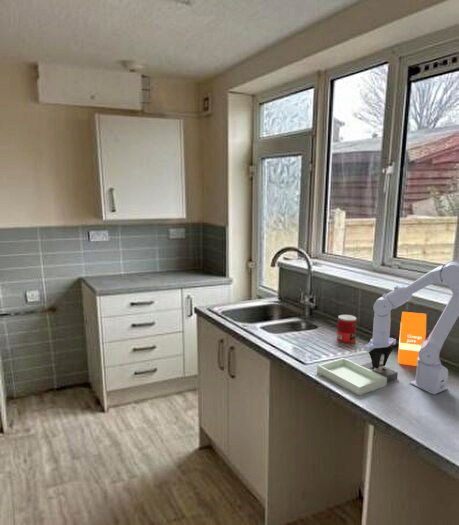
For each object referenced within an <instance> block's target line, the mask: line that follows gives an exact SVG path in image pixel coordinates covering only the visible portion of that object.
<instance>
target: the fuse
mask: <svg viewBox="0 0 459 525" xmlns="http://www.w3.org/2000/svg"><path fill="white" fill-rule="evenodd" d="M383 361H384V354H382V355H381V358H380V363H379V368H375V369H374V370H375V371H377V372H379V373H380V372H383Z"/></svg>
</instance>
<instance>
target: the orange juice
mask: <svg viewBox="0 0 459 525" xmlns="http://www.w3.org/2000/svg"><path fill="white" fill-rule="evenodd" d="M399 326H400V327H399V328H400V329H399V340H398V351H397V361H398V364H400V365H406V366H407V365H408V366H415V367H417V358H418V357H419V356H418V353H419V351H420V348H421V343H422V342H423V341H424V340H426V338H427V337H426V336H427V313H421V312H411V311H409V312H408V311H402V312H401V320H400V325H399Z"/></svg>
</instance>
